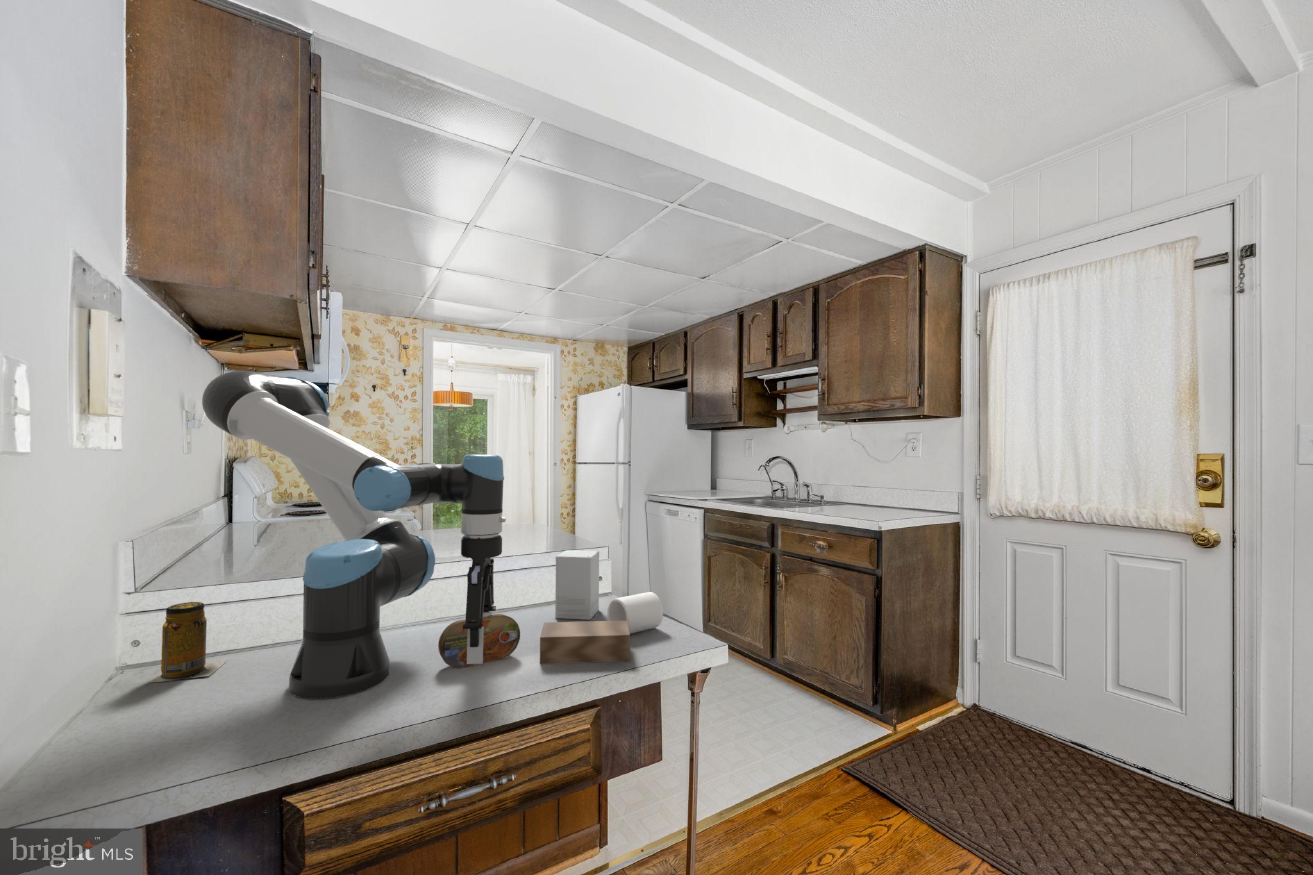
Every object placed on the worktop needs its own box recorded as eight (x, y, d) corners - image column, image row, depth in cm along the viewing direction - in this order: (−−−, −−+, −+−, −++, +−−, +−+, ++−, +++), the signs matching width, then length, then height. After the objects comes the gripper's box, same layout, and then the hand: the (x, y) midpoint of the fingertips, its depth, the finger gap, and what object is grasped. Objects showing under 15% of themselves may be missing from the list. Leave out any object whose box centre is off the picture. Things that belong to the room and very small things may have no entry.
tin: (440, 672, 101) (440, 625, 101) (436, 666, 104) (437, 621, 104) (520, 656, 109) (521, 613, 109) (515, 651, 112) (515, 609, 112)
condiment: (170, 667, 101) (172, 601, 102) (225, 662, 104) (227, 597, 104) (148, 683, 94) (150, 612, 95) (208, 677, 97) (210, 608, 97)
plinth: (539, 663, 105) (540, 637, 105) (543, 647, 114) (543, 622, 114) (629, 660, 107) (629, 634, 107) (626, 644, 116) (626, 620, 116)
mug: (663, 631, 125) (664, 595, 126) (627, 640, 119) (628, 603, 119) (631, 618, 135) (631, 585, 135) (596, 626, 128) (597, 591, 129)
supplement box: (599, 609, 141) (600, 550, 141) (590, 620, 132) (591, 557, 133) (565, 607, 142) (566, 549, 143) (553, 618, 134) (555, 555, 134)
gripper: (492, 544, 97) (490, 675, 96) (509, 527, 118) (507, 635, 117) (448, 544, 96) (445, 677, 95) (473, 527, 117) (470, 636, 116)
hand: (479, 653), depth 106 cm, fingers open, 8 cm apart
